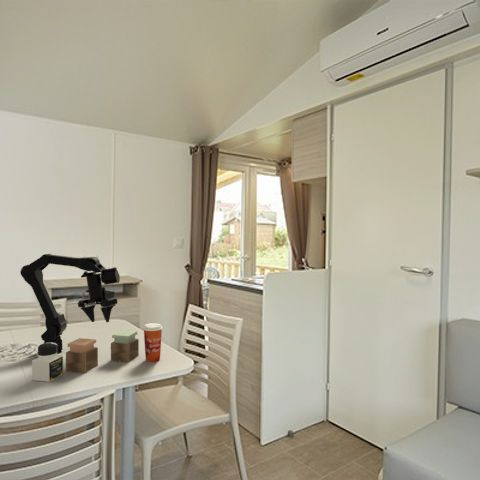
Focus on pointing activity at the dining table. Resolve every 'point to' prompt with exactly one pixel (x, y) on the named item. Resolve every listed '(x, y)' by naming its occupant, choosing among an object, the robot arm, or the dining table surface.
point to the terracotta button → (81, 345)
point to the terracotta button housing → (81, 361)
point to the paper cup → (152, 341)
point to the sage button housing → (124, 351)
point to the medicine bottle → (47, 363)
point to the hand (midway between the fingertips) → (100, 322)
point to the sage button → (124, 337)
